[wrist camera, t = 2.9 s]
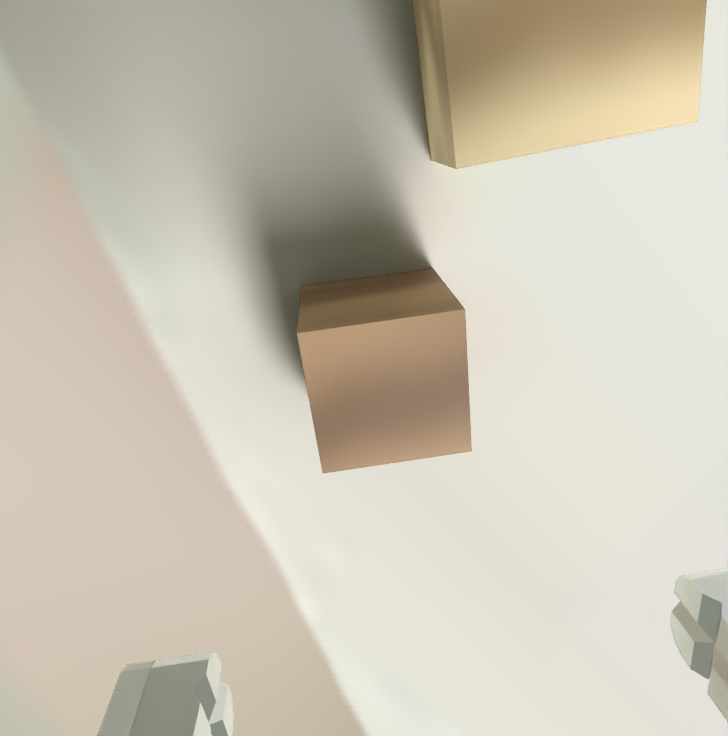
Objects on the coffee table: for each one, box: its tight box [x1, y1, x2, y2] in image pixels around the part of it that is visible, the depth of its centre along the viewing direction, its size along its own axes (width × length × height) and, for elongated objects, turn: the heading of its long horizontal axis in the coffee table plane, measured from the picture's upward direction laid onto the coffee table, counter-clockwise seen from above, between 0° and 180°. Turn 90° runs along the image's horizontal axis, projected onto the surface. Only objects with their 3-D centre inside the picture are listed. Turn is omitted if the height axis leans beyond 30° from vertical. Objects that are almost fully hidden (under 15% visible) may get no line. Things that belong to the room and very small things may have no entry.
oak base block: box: [412, 0, 707, 169], centre depth 16 cm, size 7×7×4 cm
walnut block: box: [297, 268, 472, 473], centre depth 19 cm, size 5×5×5 cm
